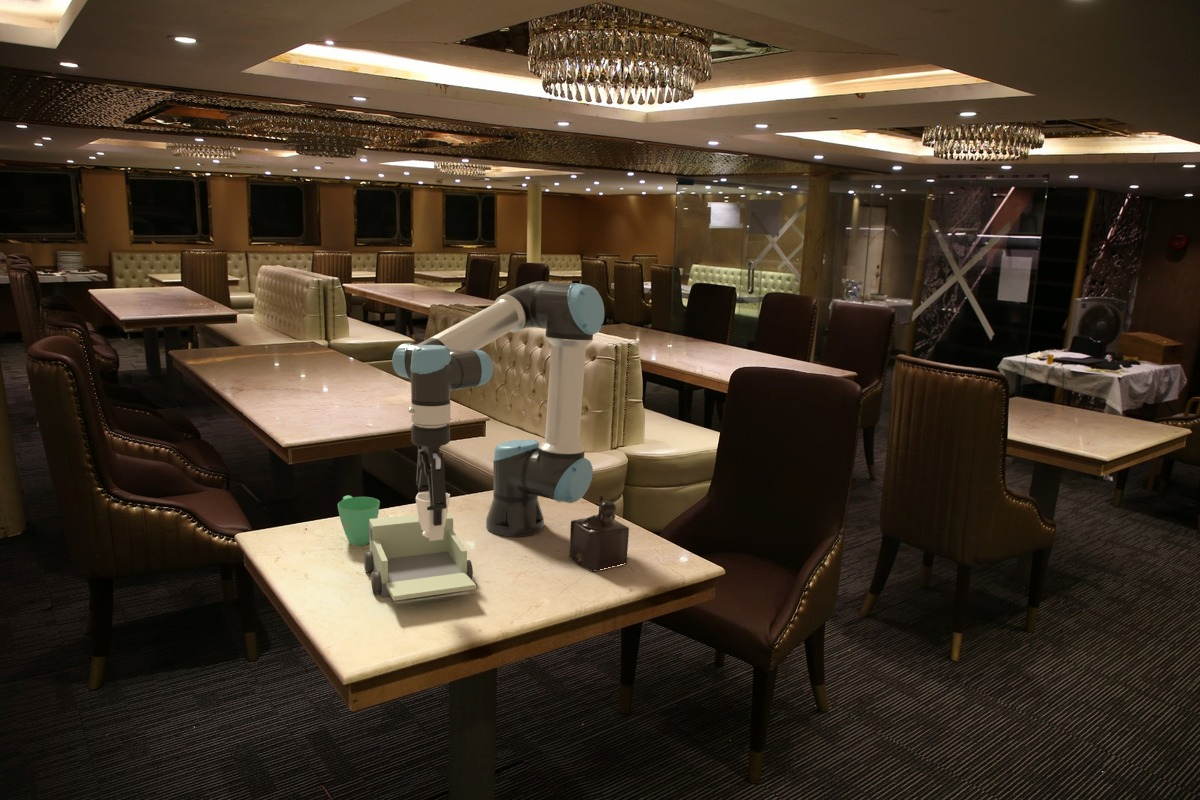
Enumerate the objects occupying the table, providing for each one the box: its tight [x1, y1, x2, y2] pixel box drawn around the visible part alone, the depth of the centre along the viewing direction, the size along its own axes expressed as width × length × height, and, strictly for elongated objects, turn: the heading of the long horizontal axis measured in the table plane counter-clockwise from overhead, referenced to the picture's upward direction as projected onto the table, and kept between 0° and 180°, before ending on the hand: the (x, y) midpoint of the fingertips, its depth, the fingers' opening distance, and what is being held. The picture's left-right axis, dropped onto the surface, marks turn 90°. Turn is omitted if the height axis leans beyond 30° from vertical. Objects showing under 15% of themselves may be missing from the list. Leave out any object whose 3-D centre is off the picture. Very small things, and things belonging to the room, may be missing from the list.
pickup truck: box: [363, 511, 474, 598], centre depth 174 cm, size 21×18×11 cm
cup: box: [415, 490, 451, 538], centre depth 159 cm, size 7×10×8 cm
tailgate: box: [386, 572, 477, 602], centre depth 162 cm, size 17×1×9 cm
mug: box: [337, 495, 381, 547], centre depth 193 cm, size 15×10×10 cm
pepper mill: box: [568, 494, 630, 572], centre depth 183 cm, size 16×11×18 cm
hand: (430, 530), depth 159 cm, fingers closed on cup, 10 cm apart
